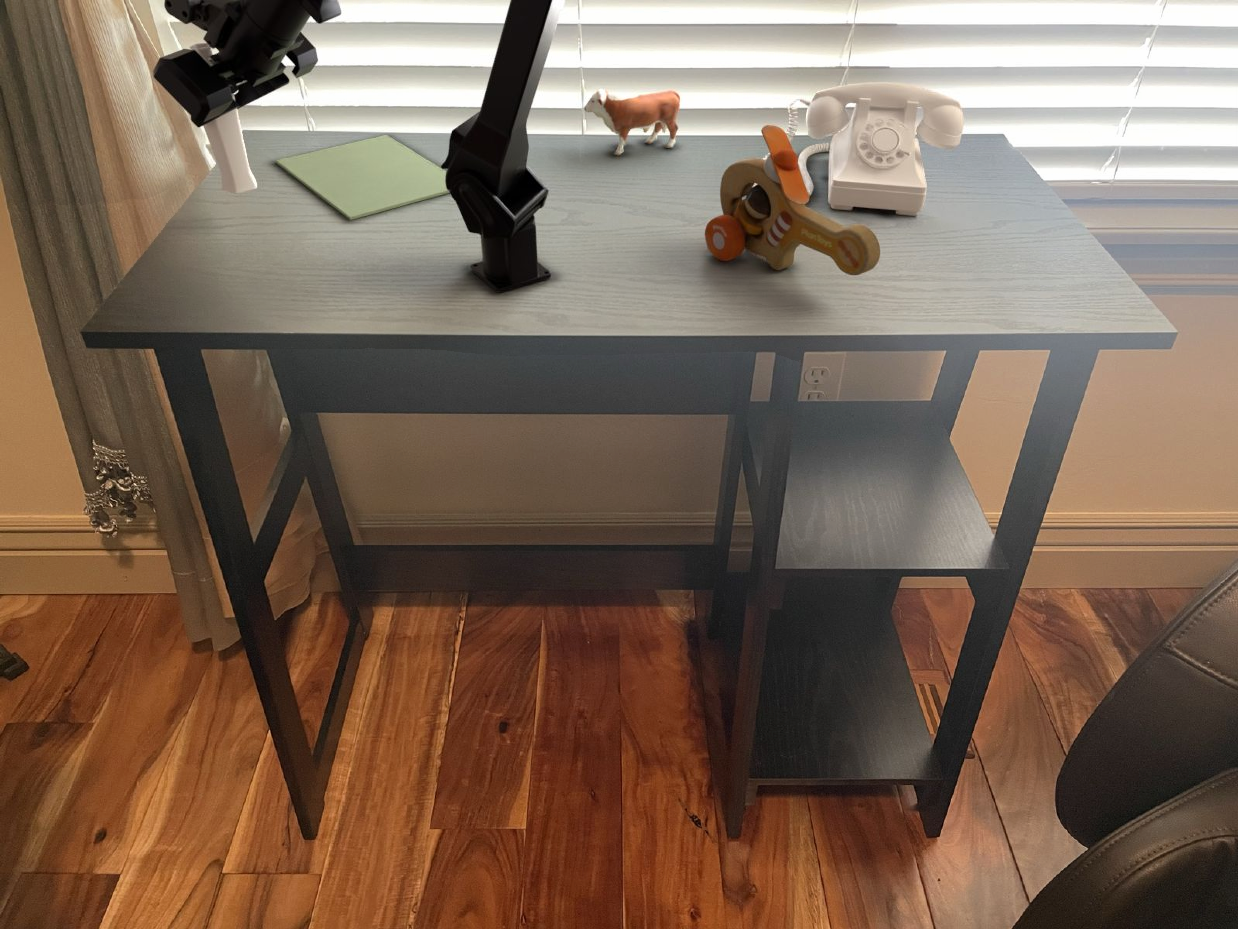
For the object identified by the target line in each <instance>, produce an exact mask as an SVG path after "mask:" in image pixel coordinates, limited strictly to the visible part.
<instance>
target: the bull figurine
mask: <svg viewBox="0 0 1238 929" xmlns="http://www.w3.org/2000/svg"><path fill="white" fill-rule="evenodd" d="M680 96H681V95H679V93H678V92H677V91H675V90H673V89H672V90H666V91H658V92H652V93H646V94H629V93H628V94H623V93H620V92H617V91H615V92H611V93H608V91H607V90H604V89H602V88H599V89H597V91H596V92H595V93H593V94H592V95H591V97H590V99H589V100H588V101H587V103H586V104H585V105H584V106H583V109H584V111H585V113H593V114H594V115H595V116H596V117H598V118H601V119H602V121H603V123H604V125H605V126H606V127H607V128H608V129H609V130H610V131H611V133H614V134H615V135H617V136H618V141H619V142H618V144H617V148H616V150H615V151H614V153H613V155H615V156H621V155H622V153H624V150H625V149H624V147H625V146H627V138H628V135H629V133H630V131H631V130H633V129H640V130H641V129H642V131H643V133H647V132H648V131H649V129H650V128H651V127H653V126H654V127H653V131H652V133H651V134H650V135H649V136H648V137H647V139H646V140H645V143H646V144H653V142H654V141H657V139H658V135H659V133H660V131H662V133H663V134H666V132H667V131H668V132H669V139H668V141H667V142H666V145H665V148H667V149H671V148H673V147H674V145H675V144H676V136H677V132H678V130H679V126H678V124H677V121H676V119H677V116H678V114H679V111H680V106H681V104H680V103H681V97H680Z"/></svg>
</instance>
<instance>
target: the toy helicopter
mask: <svg viewBox="0 0 1238 929" xmlns="http://www.w3.org/2000/svg"><path fill="white" fill-rule="evenodd" d="M760 131H761V135H762V138H763V140H764V142H765V144H766V146H767V148H768V150H769V153H770V155H769V156H768V155H767V156H768V157H767V159H766V160H762V159H763V158H759V157H747V158H743V159H740V160H738V161H736V162H734V163H732V164H730V165H729V166H728V167H727V168H726V169H725V170H724V172H723V174H722V176H721V181H720V189H719V197H720V207H721V210H722V215H719V216H715V217H714V218H711V219H710V220H709V221H708V223H707V224H706V226H705V230H704V239H705V244H706V246H707V249H708V250H709V252H710V254H711V255H712V256H713V257H714V258H715V259H717V260H718V261H721V262H728V261H732V260H733V259H737V258H738V257H739V256H740V255H742V253H743V252H744V250H747V251H748V252H750V253H752V254H754V255H756V256H759V257H762V258H764V259H765V260H766V261H767V262H768V264H769V266H770V267H771V268H772V269H773V270H775V271H781V270H784V269H786V268H788V267H790V266H792V265H793V263H794V260H795V252H796V249H797V248H798V247H799V246H800V245H802V246H804V247H806V248H809V249H811V250H813V251H816V252H819V253H821V254H823V255H825V256H827V257H830V259H832V260H833V262H834V263H835V265H836V266H837V268H838V269H839V270H840V271H842V272H843V273H845V274H846V275H849V276H860V275H862V274H865V273H867V272H869V271H871V270H873V269H874V268H875V267H876V266H877V265H878V263H879V260H880V257H881V245H880V242H879V240H878V238H877V235H876V234H875V233H874V231H872V229H870V228H869V227H868V226H866V225H864V224H862V223H853V224H850V225H847V226H846V225H843V224H840V223H839V222H837V221H835V220H833V219H831V218H829V217H827V216H825V215H823V214H821V213H820V212H818V211H815V210H813V209H811V208H809V207H807V205H805V204H807V203H808V202H809V201H810V196H809V194H808V191H807V189H806V186H805V183H804V181H803V178H802V174H801V172H800V167H799V164H798V158H799V156H798V155H797V153H796V152H795V150H794V148H793V146H792V144H791V143H790V141H789V139H788V137H789V136H788V135H786V133H787V132H786V131H785V130H784V129H782V127H780V126H777V125H775V124H767V125H764V126H762V128H761V130H760ZM787 136H788V137H787ZM755 183H756V184H758V185H756V186H754V187H753V185H754V184H755ZM744 197H745V198H744ZM743 198H744V199H743Z"/></svg>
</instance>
